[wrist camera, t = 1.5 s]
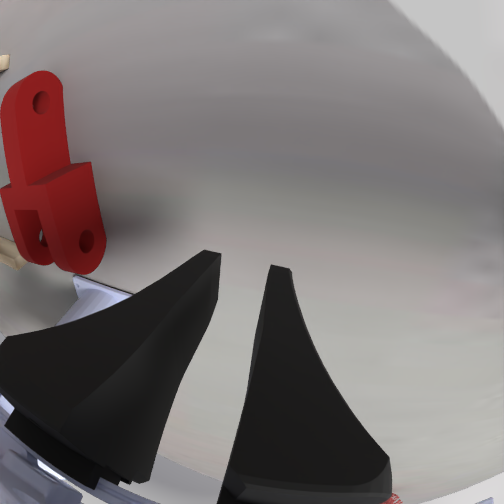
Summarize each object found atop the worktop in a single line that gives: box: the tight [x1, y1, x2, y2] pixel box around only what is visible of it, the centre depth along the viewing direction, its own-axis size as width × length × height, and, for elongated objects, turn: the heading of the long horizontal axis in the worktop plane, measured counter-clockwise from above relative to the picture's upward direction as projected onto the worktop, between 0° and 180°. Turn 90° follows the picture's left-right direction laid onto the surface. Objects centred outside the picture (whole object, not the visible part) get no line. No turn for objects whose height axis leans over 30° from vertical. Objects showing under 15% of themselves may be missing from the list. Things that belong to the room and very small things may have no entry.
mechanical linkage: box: [0, 71, 106, 275], centre depth 16 cm, size 16×7×5 cm, turn 0°
